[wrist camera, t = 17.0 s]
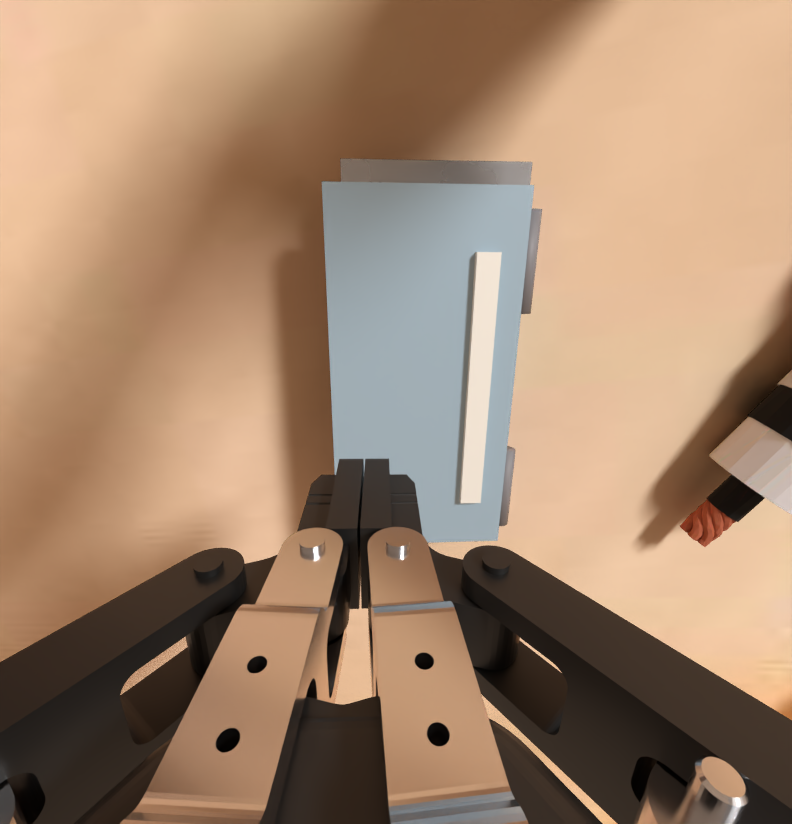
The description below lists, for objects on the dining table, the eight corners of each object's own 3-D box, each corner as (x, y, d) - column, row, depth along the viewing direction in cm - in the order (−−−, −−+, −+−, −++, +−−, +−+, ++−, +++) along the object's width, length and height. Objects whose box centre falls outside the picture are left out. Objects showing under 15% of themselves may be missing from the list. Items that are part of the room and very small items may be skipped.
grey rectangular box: (346, 175, 25) (340, 158, 21) (506, 178, 25) (532, 162, 21) (355, 496, 32) (352, 531, 28) (480, 494, 32) (495, 529, 28)
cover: (324, 185, 21) (320, 179, 19) (539, 189, 21) (551, 184, 20) (339, 533, 28) (337, 549, 26) (502, 528, 28) (510, 544, 27)
